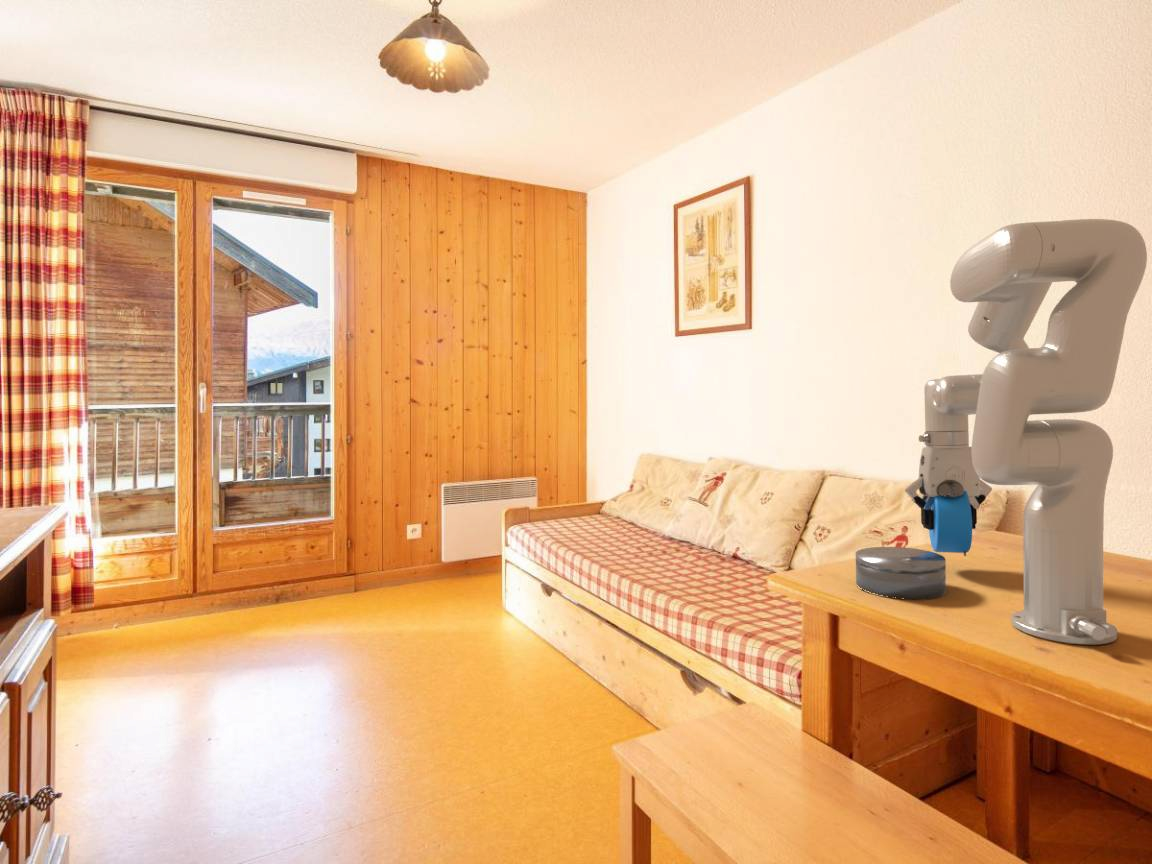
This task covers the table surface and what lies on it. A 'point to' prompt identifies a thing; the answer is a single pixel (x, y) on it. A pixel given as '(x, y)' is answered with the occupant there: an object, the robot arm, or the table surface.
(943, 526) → the alarm clock
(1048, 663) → the table surface
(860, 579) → the round tin
